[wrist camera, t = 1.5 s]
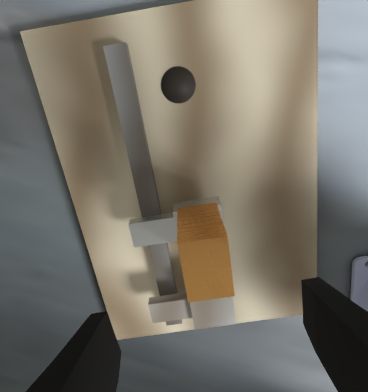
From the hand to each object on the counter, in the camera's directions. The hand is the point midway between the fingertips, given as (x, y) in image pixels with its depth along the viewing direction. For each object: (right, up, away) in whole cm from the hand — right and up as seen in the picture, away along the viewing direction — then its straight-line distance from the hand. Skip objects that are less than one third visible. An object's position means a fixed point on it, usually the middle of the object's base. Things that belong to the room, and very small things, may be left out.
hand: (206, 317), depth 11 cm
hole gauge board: (0, +5, +9) cm, 10 cm away
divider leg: (-1, +3, +9) cm, 9 cm away
